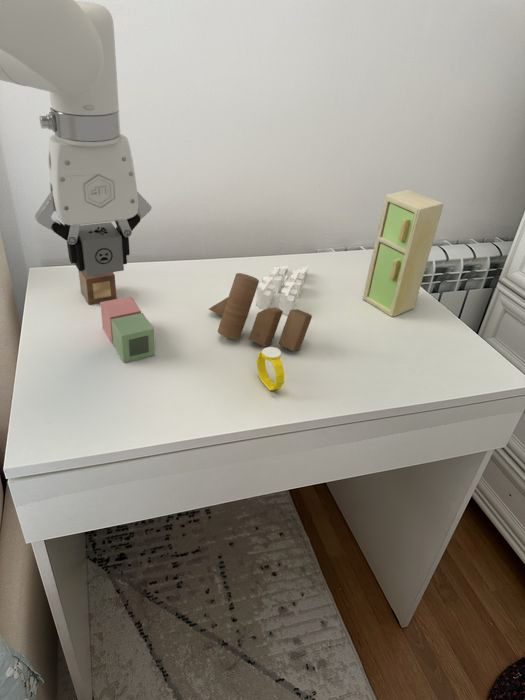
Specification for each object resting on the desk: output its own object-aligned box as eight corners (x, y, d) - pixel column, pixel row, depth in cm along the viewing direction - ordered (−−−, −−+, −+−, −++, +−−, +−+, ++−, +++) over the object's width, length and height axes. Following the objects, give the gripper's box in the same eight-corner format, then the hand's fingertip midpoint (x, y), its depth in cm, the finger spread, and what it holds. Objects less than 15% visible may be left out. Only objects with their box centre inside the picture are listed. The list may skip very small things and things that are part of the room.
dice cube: (123, 270, 73) (121, 236, 70) (86, 276, 71) (82, 241, 68) (113, 255, 77) (110, 222, 74) (78, 259, 75) (73, 226, 72)
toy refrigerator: (358, 299, 104) (382, 194, 92) (383, 291, 108) (409, 188, 96) (389, 318, 99) (418, 210, 87) (414, 309, 103) (445, 203, 91)
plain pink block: (112, 344, 85) (110, 317, 82) (102, 328, 88) (100, 301, 85) (142, 337, 87) (141, 311, 84) (132, 321, 91) (130, 296, 88)
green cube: (124, 363, 81) (122, 336, 78) (113, 345, 85) (111, 319, 82) (155, 355, 83) (154, 329, 80) (143, 338, 87) (142, 312, 84)
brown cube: (88, 305, 94) (86, 279, 91) (80, 291, 97) (77, 266, 94) (116, 299, 96) (115, 274, 93) (108, 286, 99) (106, 262, 96)
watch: (286, 394, 79) (291, 362, 75) (270, 399, 77) (274, 366, 74) (266, 370, 83) (270, 339, 79) (251, 375, 82) (254, 343, 78)
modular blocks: (290, 316, 97) (293, 297, 94) (254, 308, 98) (256, 289, 96) (310, 270, 113) (313, 253, 110) (279, 263, 114) (281, 246, 111)
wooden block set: (300, 357, 91) (322, 300, 88) (281, 363, 83) (303, 301, 80) (214, 317, 97) (231, 263, 94) (188, 320, 89) (206, 261, 86)
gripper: (15, 137, 57) (41, 286, 67) (167, 130, 65) (168, 265, 75) (4, 119, 62) (29, 261, 73) (145, 115, 70) (150, 244, 80)
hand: (100, 262), depth 74 cm, fingers closed on dice cube, 5 cm apart
